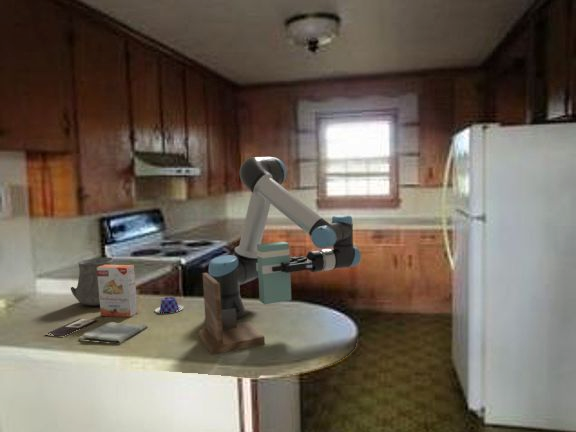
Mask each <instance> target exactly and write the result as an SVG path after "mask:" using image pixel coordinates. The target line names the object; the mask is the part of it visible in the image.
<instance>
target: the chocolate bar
mask: <svg viewBox="0 0 576 432" xmlns="http://www.w3.org/2000/svg"><path fill="white" fill-rule="evenodd" d="M97 322H99V321H98V320H97V319H87V318H86V319H85V318H83V319H82V318H78V319H75V320H74V321H71V322H69V323H67V324H64V325H62V326H60V327H58V328H56V329H53V330H51V331H49V332H47V333H48V334H49V333H51V334H53V335H54V336H65V335H67V334H70V333H72V332H74V331H76V330H79V329H81V330H83V329H85V328H87V327H89V326H91V325H93V324H96V323H97ZM84 327H85V328H84ZM82 328H83V329H82ZM79 331H80V330H79ZM74 333H75V332H74ZM51 334H50V335H51ZM72 334H73V333H72ZM70 335H71V334H70Z"/></svg>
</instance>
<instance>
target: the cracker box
mask: <svg viewBox="0 0 576 432" xmlns="http://www.w3.org/2000/svg"><path fill="white" fill-rule="evenodd" d="M97 276H98V288H99V300H100V305H99V307H100V309H99V310H100V316H101V317H112V318H113V317H117V318H131V317H133V316H135V315H137V314H138V313H139V312H138V299H137V286H136V285H137V284H136V273H135V264H112V265H103V266H99V267H97Z"/></svg>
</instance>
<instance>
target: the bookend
mask: <svg viewBox="0 0 576 432" xmlns="http://www.w3.org/2000/svg"><path fill="white" fill-rule="evenodd" d="M221 315H222V330H226V329H231V328H237V323H238V322H237V319H236V308H231V309H225V310H221Z"/></svg>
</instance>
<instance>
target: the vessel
mask: <svg viewBox="0 0 576 432" xmlns="http://www.w3.org/2000/svg"><path fill="white" fill-rule="evenodd" d="M113 261H114V259H113V258H112V257H109V256H107V257H94V258H90V259H84V260H83V259H82V260H81V261H78V262H77V264H78V269H79V275H78V280H77V281H78V282H77V286H76V288H75V287H74V286H71V287H70V291H71V293H72V295H73V296H74V298H75V299H76V300H77V302H79V303H80V304H83V305H84V306H90V307H91V306H92V307H94V306H95V307H96V306H100V300H99V288H98V276H97V267H99V266H103V265H113Z"/></svg>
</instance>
